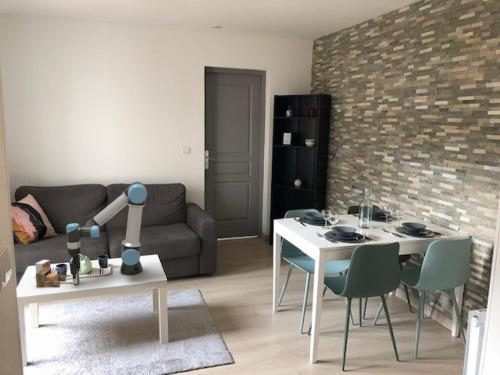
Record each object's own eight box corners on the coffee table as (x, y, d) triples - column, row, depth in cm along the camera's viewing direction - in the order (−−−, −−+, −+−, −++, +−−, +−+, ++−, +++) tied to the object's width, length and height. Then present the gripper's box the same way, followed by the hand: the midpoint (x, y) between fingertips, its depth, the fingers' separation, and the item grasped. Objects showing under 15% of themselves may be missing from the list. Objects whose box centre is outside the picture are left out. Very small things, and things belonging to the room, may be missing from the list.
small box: (43, 278, 278) (42, 263, 276) (36, 278, 279) (34, 263, 277) (51, 274, 286) (50, 260, 284) (44, 273, 287) (43, 259, 285)
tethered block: (80, 281, 273) (79, 267, 272) (77, 285, 267) (76, 270, 266) (49, 282, 273) (48, 267, 271) (44, 285, 267) (43, 270, 265)
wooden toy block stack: (66, 280, 275) (65, 267, 274) (58, 287, 265) (57, 274, 263) (44, 280, 275) (43, 267, 274) (36, 287, 264) (35, 274, 263)
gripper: (73, 243, 274) (75, 277, 278) (62, 251, 258) (65, 287, 262) (84, 243, 274) (86, 277, 278) (75, 251, 258) (77, 287, 262)
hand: (76, 282), depth 270 cm, fingers closed on tethered block, 3 cm apart
